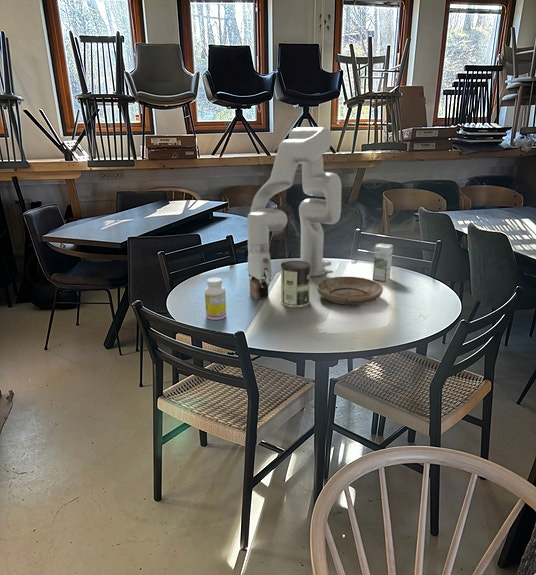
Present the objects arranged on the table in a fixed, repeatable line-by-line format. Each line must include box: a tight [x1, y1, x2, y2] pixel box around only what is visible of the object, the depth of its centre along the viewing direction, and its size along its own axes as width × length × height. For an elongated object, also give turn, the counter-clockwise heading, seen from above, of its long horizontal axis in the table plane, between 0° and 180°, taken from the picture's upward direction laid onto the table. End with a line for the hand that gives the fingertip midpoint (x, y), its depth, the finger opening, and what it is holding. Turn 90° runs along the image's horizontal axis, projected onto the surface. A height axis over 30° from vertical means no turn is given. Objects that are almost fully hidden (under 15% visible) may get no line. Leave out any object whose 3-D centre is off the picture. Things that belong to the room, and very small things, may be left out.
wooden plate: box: [316, 276, 384, 306], centre depth 157 cm, size 23×24×5 cm
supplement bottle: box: [204, 277, 227, 321], centre depth 141 cm, size 7×7×13 cm
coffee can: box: [280, 260, 311, 308], centre depth 152 cm, size 10×10×14 cm
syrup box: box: [372, 243, 394, 283], centre depth 176 cm, size 6×6×14 cm
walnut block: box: [249, 279, 265, 300], centre depth 160 cm, size 5×5×6 cm
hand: (259, 293), depth 160 cm, fingers open, 6 cm apart
